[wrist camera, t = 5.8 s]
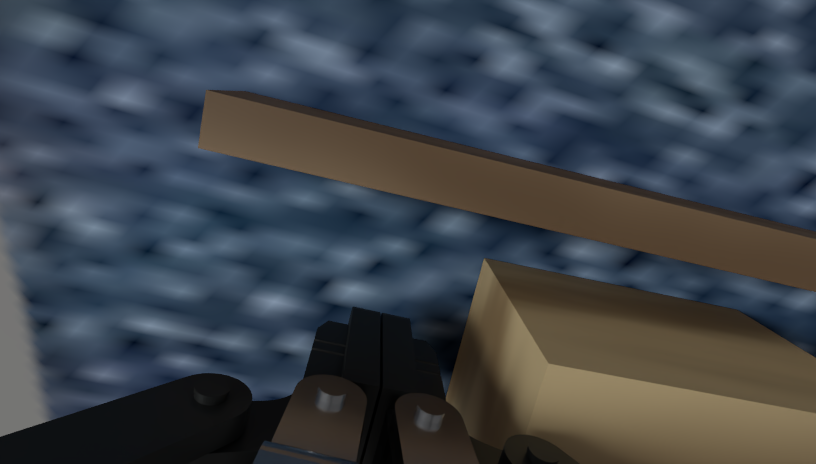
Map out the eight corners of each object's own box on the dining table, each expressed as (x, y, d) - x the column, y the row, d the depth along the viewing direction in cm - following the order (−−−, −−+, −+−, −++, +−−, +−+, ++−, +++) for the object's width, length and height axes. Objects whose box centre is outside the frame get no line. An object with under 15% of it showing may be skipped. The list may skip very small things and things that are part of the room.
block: (484, 257, 15) (548, 363, 9) (736, 309, 15) (948, 438, 10) (443, 407, 16) (476, 585, 10) (679, 448, 17) (835, 635, 11)
